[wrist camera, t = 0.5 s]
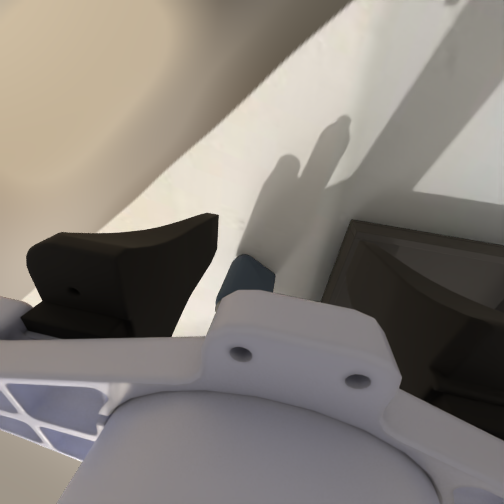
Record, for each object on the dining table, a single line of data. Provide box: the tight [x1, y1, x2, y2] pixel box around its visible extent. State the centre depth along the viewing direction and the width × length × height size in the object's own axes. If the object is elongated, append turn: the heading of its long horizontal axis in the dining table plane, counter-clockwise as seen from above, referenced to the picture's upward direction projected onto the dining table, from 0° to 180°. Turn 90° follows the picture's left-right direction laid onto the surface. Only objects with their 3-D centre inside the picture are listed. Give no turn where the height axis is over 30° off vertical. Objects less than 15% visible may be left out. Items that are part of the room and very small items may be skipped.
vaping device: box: [215, 255, 275, 311], centre depth 21 cm, size 3×5×12 cm, turn 53°
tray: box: [321, 220, 504, 313], centre depth 23 cm, size 14×16×2 cm
